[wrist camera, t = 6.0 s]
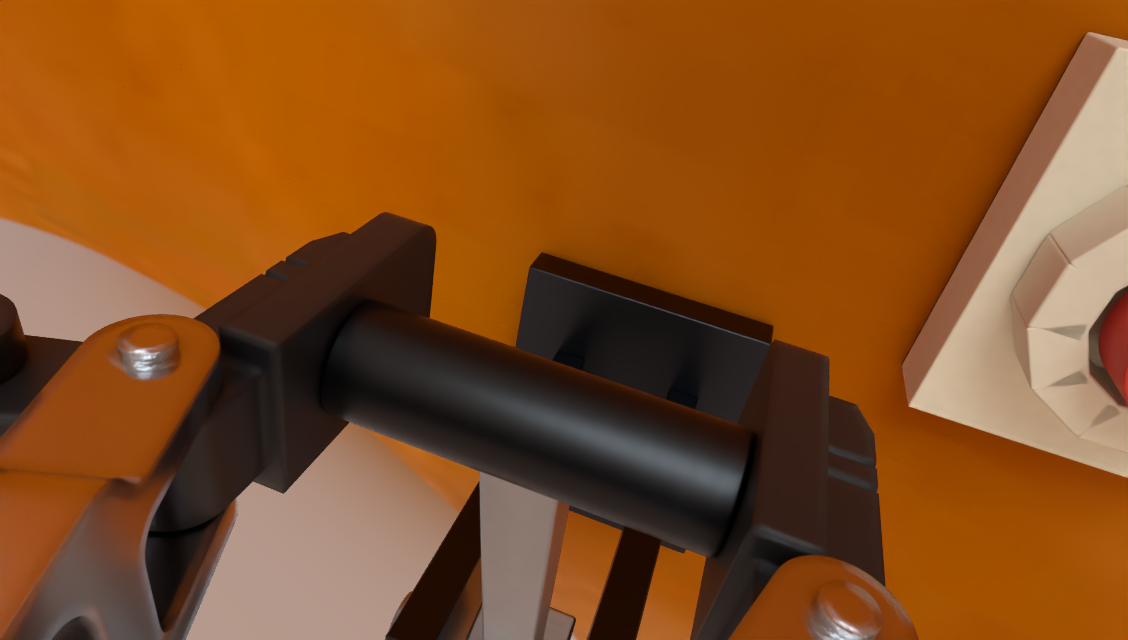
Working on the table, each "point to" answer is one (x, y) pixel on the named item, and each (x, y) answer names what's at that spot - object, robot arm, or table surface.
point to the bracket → (626, 356)
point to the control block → (1043, 282)
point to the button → (1116, 344)
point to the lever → (536, 451)
